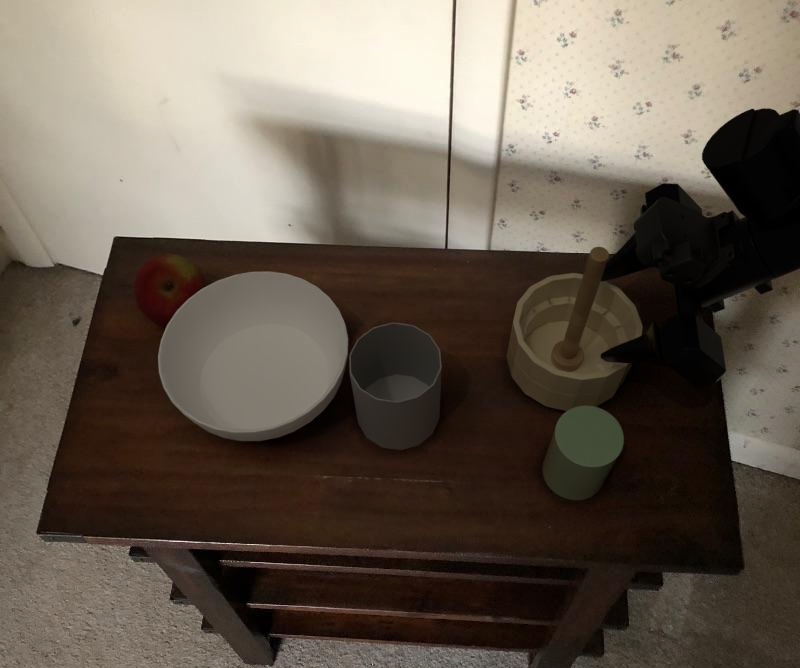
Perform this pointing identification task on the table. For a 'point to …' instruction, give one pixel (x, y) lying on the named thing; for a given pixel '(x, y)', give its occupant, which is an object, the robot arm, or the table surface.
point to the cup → (396, 385)
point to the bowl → (254, 355)
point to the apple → (166, 286)
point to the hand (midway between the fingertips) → (600, 316)
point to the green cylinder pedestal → (582, 452)
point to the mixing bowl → (546, 326)
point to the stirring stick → (580, 313)
